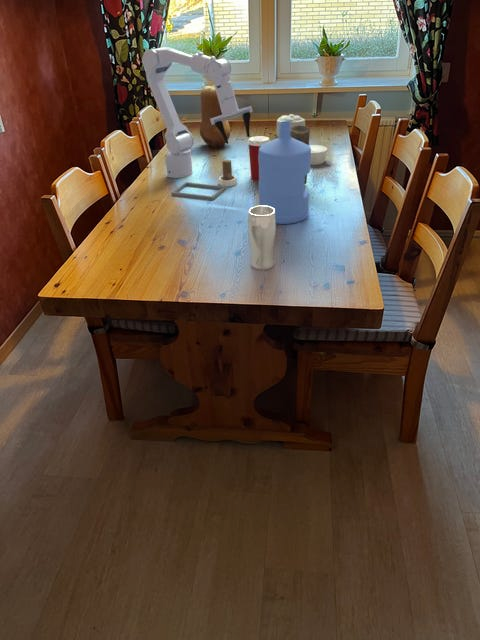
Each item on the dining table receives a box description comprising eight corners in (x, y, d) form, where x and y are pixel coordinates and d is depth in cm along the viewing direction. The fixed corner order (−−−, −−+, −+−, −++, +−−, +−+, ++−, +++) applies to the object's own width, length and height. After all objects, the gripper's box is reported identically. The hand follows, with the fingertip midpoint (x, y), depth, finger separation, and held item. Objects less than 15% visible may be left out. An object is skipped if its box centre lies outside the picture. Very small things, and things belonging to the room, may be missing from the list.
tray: (171, 197, 173) (171, 192, 172) (186, 186, 181) (185, 182, 180) (213, 202, 168) (213, 197, 167) (226, 191, 176) (226, 186, 175)
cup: (216, 187, 180) (215, 179, 178) (223, 181, 185) (223, 174, 183) (232, 189, 178) (232, 181, 176) (239, 183, 183) (239, 175, 181)
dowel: (222, 184, 180) (220, 162, 176) (225, 181, 183) (224, 159, 178) (230, 185, 179) (229, 162, 175) (233, 182, 182) (232, 160, 177)
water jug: (275, 229, 148) (275, 132, 132) (250, 212, 160) (248, 121, 144) (318, 218, 154) (323, 124, 138) (291, 202, 166) (293, 113, 150)
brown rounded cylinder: (309, 183, 180) (311, 125, 169) (304, 190, 175) (307, 131, 163) (288, 181, 183) (290, 124, 171) (283, 188, 177) (284, 130, 166)
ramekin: (295, 164, 199) (295, 151, 196) (303, 156, 207) (303, 143, 204) (322, 167, 195) (323, 153, 192) (329, 159, 204) (330, 145, 201)
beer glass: (247, 259, 133) (246, 206, 125) (273, 257, 133) (273, 204, 125) (250, 271, 127) (249, 216, 119) (277, 269, 128) (277, 215, 119)
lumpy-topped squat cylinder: (278, 132, 241) (278, 113, 237) (305, 132, 239) (306, 113, 234) (275, 137, 233) (276, 118, 228) (303, 138, 231) (304, 118, 226)
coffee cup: (268, 184, 181) (268, 142, 172) (246, 183, 183) (245, 141, 174) (272, 176, 188) (272, 135, 179) (250, 175, 189) (249, 135, 181)
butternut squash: (236, 144, 226) (234, 84, 212) (220, 151, 217) (216, 89, 203) (211, 140, 232) (208, 82, 218) (194, 148, 223) (189, 87, 209)
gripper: (206, 105, 162) (218, 147, 168) (248, 92, 162) (259, 134, 168) (205, 105, 169) (217, 145, 175) (246, 92, 168) (257, 133, 174)
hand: (238, 140), depth 172 cm, fingers open, 7 cm apart
